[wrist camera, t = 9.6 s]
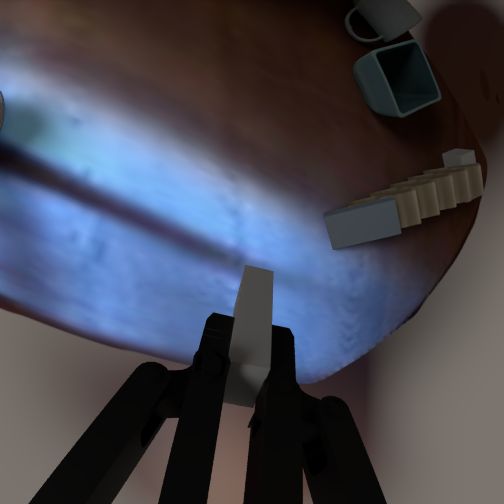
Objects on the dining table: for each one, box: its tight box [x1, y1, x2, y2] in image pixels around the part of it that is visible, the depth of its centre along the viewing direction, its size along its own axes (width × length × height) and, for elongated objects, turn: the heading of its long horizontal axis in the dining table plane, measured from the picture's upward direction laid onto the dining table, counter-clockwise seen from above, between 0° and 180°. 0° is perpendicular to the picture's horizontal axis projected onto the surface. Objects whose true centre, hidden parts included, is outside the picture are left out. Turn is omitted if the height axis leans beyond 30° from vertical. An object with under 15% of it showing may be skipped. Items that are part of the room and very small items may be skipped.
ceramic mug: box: [345, 0, 422, 43], centre depth 32 cm, size 11×8×8 cm
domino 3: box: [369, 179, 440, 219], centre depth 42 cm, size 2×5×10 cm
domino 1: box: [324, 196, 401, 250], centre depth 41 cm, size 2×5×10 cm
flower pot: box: [353, 39, 441, 118], centre depth 34 cm, size 9×9×9 cm
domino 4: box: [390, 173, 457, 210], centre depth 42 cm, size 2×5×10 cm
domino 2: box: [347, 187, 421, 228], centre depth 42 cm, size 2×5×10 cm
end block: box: [442, 149, 478, 202], centre depth 44 cm, size 4×8×4 cm, turn 21°
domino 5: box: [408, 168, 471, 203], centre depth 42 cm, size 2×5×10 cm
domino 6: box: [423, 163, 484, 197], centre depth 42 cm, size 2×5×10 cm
